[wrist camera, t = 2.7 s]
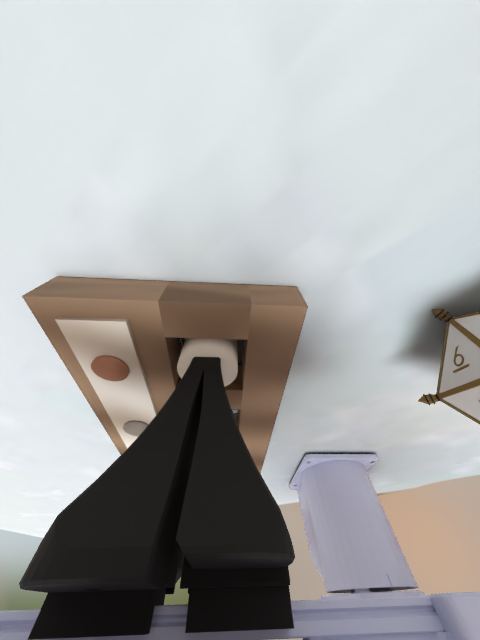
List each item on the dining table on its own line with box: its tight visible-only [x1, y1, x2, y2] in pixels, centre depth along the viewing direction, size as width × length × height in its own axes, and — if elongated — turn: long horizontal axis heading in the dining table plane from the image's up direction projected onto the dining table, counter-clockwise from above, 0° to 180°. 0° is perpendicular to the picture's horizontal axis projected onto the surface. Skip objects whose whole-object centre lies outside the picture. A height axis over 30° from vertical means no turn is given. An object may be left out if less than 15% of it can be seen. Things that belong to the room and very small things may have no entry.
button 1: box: [177, 338, 238, 386], centre depth 12 cm, size 3×3×2 cm
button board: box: [22, 277, 308, 473], centre depth 15 cm, size 20×12×2 cm, turn 177°
